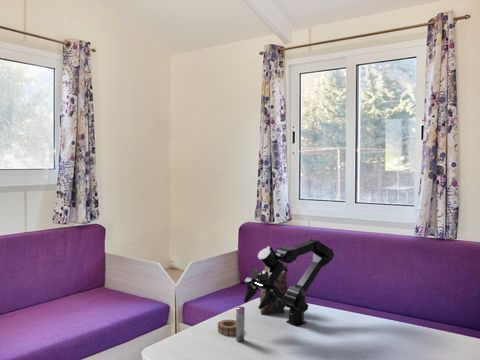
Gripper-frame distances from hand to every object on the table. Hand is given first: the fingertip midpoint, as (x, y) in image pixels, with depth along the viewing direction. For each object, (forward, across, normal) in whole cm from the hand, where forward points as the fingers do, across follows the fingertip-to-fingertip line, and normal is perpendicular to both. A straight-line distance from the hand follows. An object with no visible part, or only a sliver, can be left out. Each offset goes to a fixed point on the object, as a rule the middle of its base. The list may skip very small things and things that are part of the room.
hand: (251, 305), depth 169 cm
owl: (-9, -18, +27) cm, 34 cm away
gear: (+12, -10, +6) cm, 17 cm away
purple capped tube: (+13, 0, +5) cm, 14 cm away
